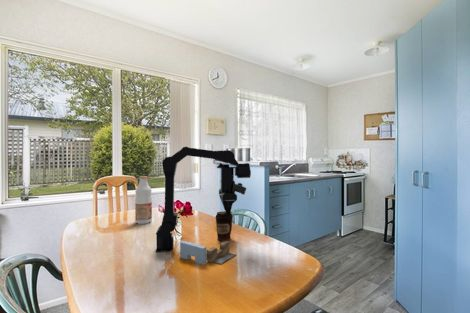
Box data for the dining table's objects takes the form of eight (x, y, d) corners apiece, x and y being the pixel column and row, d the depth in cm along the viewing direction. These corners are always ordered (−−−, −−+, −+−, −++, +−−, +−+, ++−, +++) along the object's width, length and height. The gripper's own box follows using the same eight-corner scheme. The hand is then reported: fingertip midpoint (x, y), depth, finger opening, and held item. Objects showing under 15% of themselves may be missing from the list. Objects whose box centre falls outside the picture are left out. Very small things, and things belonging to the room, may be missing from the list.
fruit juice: (132, 222, 149) (132, 176, 149) (147, 219, 156) (147, 175, 156) (139, 225, 142) (139, 177, 142) (154, 222, 149) (154, 176, 149)
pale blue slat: (206, 262, 92) (206, 246, 92) (202, 264, 90) (202, 248, 90) (183, 255, 98) (183, 240, 98) (180, 257, 97) (180, 242, 97)
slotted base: (219, 265, 89) (219, 253, 89) (198, 259, 95) (198, 247, 95) (237, 254, 99) (237, 243, 99) (218, 249, 105) (218, 239, 105)
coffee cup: (230, 243, 112) (230, 214, 112) (213, 242, 114) (213, 214, 114) (234, 237, 121) (234, 210, 121) (218, 236, 123) (218, 210, 123)
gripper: (249, 179, 102) (249, 217, 102) (241, 176, 121) (241, 208, 121) (222, 180, 101) (222, 218, 101) (218, 176, 119) (218, 208, 119)
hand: (227, 212), depth 110 cm, fingers open, 9 cm apart
